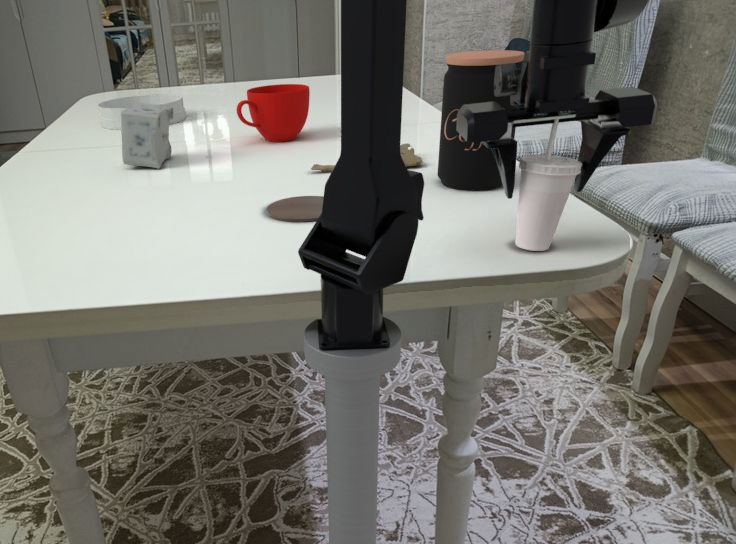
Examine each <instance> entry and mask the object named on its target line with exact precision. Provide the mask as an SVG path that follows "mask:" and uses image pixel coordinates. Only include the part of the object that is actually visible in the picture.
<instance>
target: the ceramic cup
mask: <svg viewBox="0 0 736 544" xmlns="http://www.w3.org/2000/svg"><path fill="white" fill-rule="evenodd" d="M310 91H311V90H310V86H309V85H306V84H302V83H301V84H299V83H280V84H269V85H260V86H255V87H251V88H249V89H247V90H246V99H244V100H240V101H239V102H238V103H237V105H236V115H237V117H238V119H239V120H240V122H241V123H243V125H246V126H248V127H252V128H255V129H256V131H257V132H258V133H259V134H260V135H261V136H262V137H263V138H264V140H265V141H266V142H271V143H272V142H273V143H281V142H289V141H293V140H296V139H297V137H298V135H299V134H301V132H302V130H303V129H304V127H305V125H306V123H307V119H308V115H309V109H310V97H311V96H310V94H311V93H310ZM244 105H247V106H248V111H249V115H250V119H251V121H252V122H251V121H248V120H247V119H245V117H244V116H243V113H242V110H243V109H242V108H243V106H244Z"/></svg>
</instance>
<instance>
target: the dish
mask: <svg viewBox="0 0 736 544" xmlns="http://www.w3.org/2000/svg"><path fill="white" fill-rule="evenodd" d="M183 98H184V97H183V95H180V94H172V93H171V94H170V93H169V94H168V93H158V94H156V93H155V94H143V95H141V94H139V95H133V96H123V97H118V98H112V99H108V100H105V101H101V102H99V103H98V104H97V108H98V113H99V117H98V118H99V124H100V127H101V128H103V129H107V130H119V131H121V112H122V111H123V110H126V109H129V108H131V107H132V106H134V105H136V104H139V103H141V104H149V105H157V106H165V107H173V120H172V119H171V120H170V122H169V126H170V125H174V124H177V123H180V122H182V121H184V120H186V118H187V116H186V115H187V114H186V108H185V105H184V99H183Z"/></svg>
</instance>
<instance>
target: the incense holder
mask: <svg viewBox="0 0 736 544" xmlns="http://www.w3.org/2000/svg"><path fill="white" fill-rule="evenodd" d="M171 119H172V120H173V107H165V106H157V105H149V104H141V103H139V104H136V105H134V106H132V107H131V108H129V109H126V110H123V111H122V112H121V130H120V131H121V157H122V162H123V164H124V165H128V166H136V167H149V168H153V169H158V170H160V169H161V167H162V166H163V163H164V162H165V161H166V160H169V159H170V158H171V156H172V145H171V142H170V125H169V122H170V120H171Z"/></svg>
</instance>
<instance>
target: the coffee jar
mask: <svg viewBox="0 0 736 544" xmlns="http://www.w3.org/2000/svg"><path fill="white" fill-rule="evenodd" d="M524 60H525V51H520V50H513V49H512V50H508V49H505V50H504V49H489V50H488V49H487V50H469V51H459V52H453V53H449V54H447V55H446V56H445V64H446V65H447V71H446V72H445V73H444V76H443V85H442V86H443V87H442V100H441V116H440V129H439V130H440V131H439V145H438V147H439V148H438V160H437V161H438V163H437V177H438V179H439V181H440V182H441V184H442V185H443V186H445V187H447V188H450V189H454V190H459V191H461V190H462V191H488V190H494V189H497V188H500V187H503V184H502V180H501V176H500V173H499V169H498V165H497V162H496V159H495V157H494V154H493V152H492V150H491V149H490V148H487V147H486V146H485V145H484V144H483V143H482V142H467V141H466V140H465V139H464V138H463V137H462V136H461V135H460V134H459V133H458V132H457V131H456V126H457V114H458V111H459V110H460V108H461V107H462V106H463V105H465V104H474V103H484V102H493V101H495V102H496V103H498V104H499V105H501V106H502V107H504V108H505V109H514V108H519V105H510V95H509V96H500V97H496V96H495V94H494V76H495V67H496V66H497V65H499V64H508V63H515V64H516V68H517V69H521V67H520V66H521V63H522V62H524ZM516 129H517V127H512V133H511V137H512V138H513V139H515V137H516Z"/></svg>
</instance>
